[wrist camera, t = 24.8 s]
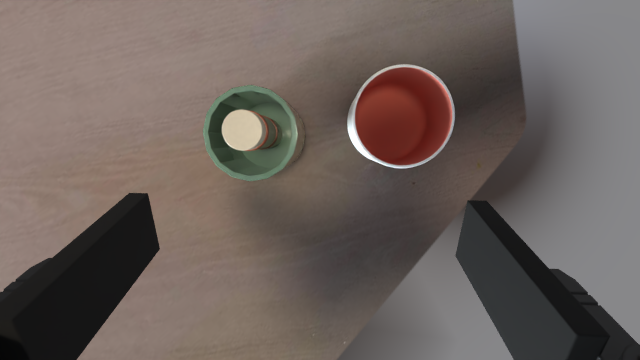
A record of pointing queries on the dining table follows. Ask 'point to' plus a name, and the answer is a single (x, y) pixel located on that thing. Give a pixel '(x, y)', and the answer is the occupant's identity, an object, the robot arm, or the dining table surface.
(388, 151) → the cup
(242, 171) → the tumbler
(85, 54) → the dining table surface
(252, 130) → the cream banded cylinder
